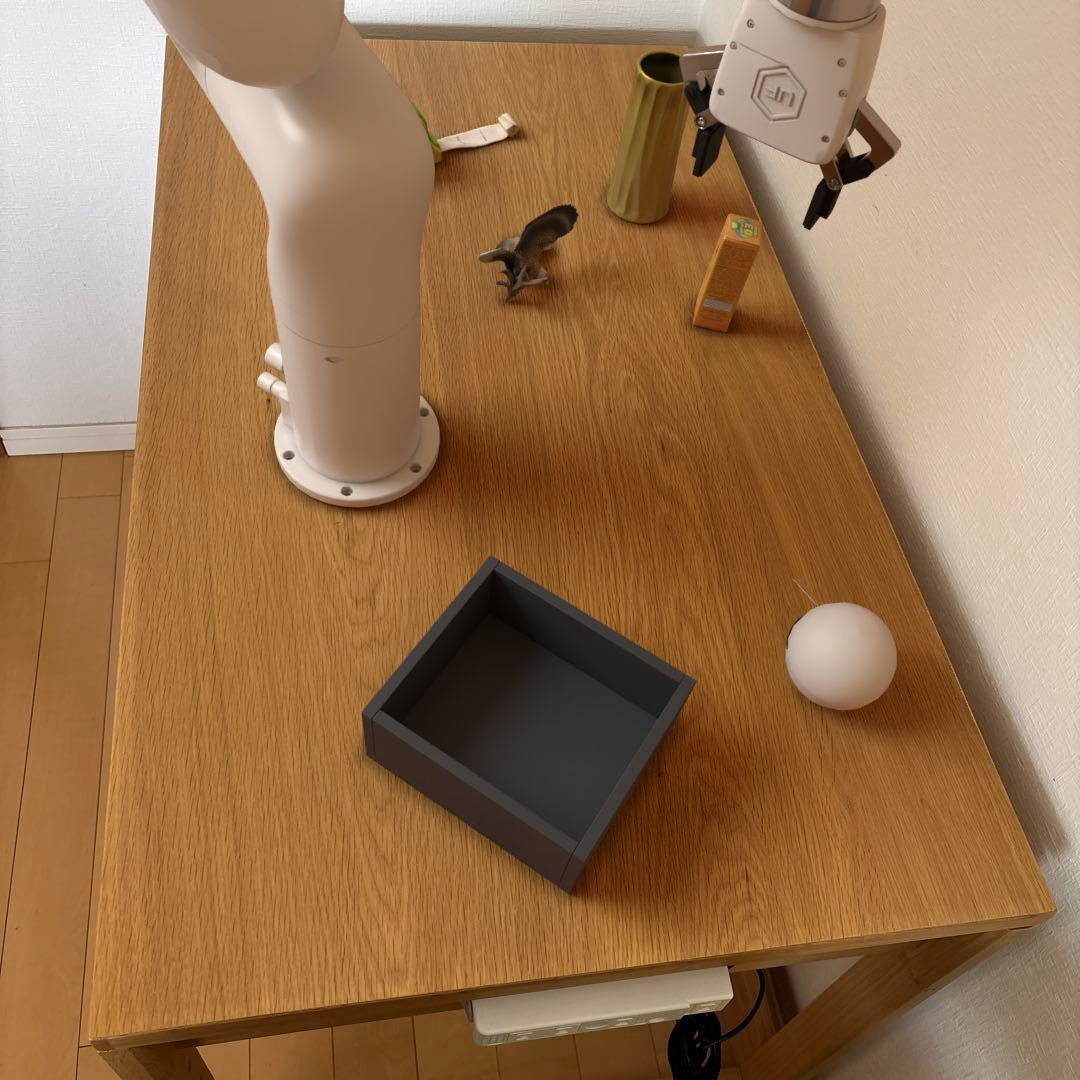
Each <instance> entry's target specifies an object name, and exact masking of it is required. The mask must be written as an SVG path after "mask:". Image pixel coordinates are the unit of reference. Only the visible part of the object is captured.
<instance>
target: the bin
mask: <svg viewBox="0 0 1080 1080" xmlns="http://www.w3.org/2000/svg"><path fill="white" fill-rule="evenodd" d="M697 682H698V681H697V680H696V679H695V678H693V677H692V676H690V675H688V674H686V673H685V672H684V671H682V670H680V669H679V668H677V667H675V666H673V665H671V664H670V663H669V662H668V661H665V660H663V659H662V658H660V657H659V656H657V655H655V654H653V652H651V651H649V650H647V649H645V648H644V647H642V646H641V645H639V644H638V643H636V642H634V641H633V640H631V639H629V638H628V637H626V636H624V635H623V634H621V633H620V632H617V631H616V630H614V629H613V628H611V627H609V626H608V625H606V624H605V623H604V622H601V621H600V620H598V619H596V618H595V617H593V616H592V615H589V614H588V613H587V612H585V611H583V610H581V609H580V608H578V607H576V606H575V605H573V604H572V603H570V602H568V601H566V600H565V599H564V598H562V597H561V596H559V595H557V594H555V593H553V592H552V591H550V590H548V589H547V588H545V587H544V586H542V584H541V585H540V584H539V583H537V582H535V581H534V580H532V579H531V578H529V577H527V576H526V575H524V574H523V573H521V572H519V571H518V570H516V569H514V568H513V567H511V566H509V565H507V564H506V563H504V562H503V561H501V560H500V559H499V558H496V557H495V556H493V555H492V554H491V555H489V556H488V557H487V559H486V560H485V561H484V562H483V563H482V565H481V566H480V567H479V568H478V569H477V571H476V572H475V573H474V575H472V577H471V578H470V579H469V580H468V582H467V583H466V584H465V585H464V586H463V588H462V589H461V590H460V591H459V593H458V594H457V595H456V596H455V598H453V600H452V601H451V602H450V603H449V604H448V606H447V607H446V608H445V610H444V611H443V612H442V613H441V615H440V616H439V617H438V618H437V619H436V620H435V622H434V623H433V624H432V625H431V626H430V627H429V629H428V630H427V632H426V633H425V634H424V635H423V636H422V637H421V638H420V640H419V641H418V642H417V644H416V645H415V646H414V647H413V648H412V650H410V652H409V653H408V655H406V657H405V658H404V659H403V660H402V662H401V663H400V664H399V665H398V666H397V668H396V669H394V671H393V672H392V674H391V675H390V676H389V677H388V678H387V680H386V681H385V682H384V684H383V685H382V686H381V687H380V688H379V689H378V691H377V692H376V693H375V695H374V696H373V697H372V698H371V700H370V701H369V702H368V703H367V704H366V705H365V707H363V709H362V710H361V712H360V714H361V721H362V729H363V730H362V731H363V739H364V747H365V756H366V757H368V758H370V759H371V760H372V761H374V762H375V763H377V764H378V765H379V766H381V767H383V768H384V769H385V770H387V771H389V772H390V773H391V774H393V775H395V777H397V778H398V779H400V780H401V781H403V782H405V783H406V784H408V785H409V786H410V787H412V789H415V790H416V791H417V792H419V793H421V794H422V795H423V796H425V797H426V798H427V799H429V800H431V801H432V802H433V803H435V804H437V805H438V806H439V807H441V808H443V810H445V811H447V812H448V813H450V814H451V815H453V816H454V817H455V818H457V819H458V820H460V821H461V822H463V823H464V824H465V825H467V826H468V827H470V828H472V829H473V830H475V831H476V832H477V833H478V834H480V835H481V836H483V837H485V838H486V839H488V840H489V841H490V842H492V843H493V844H495V845H497V846H498V847H499V848H501V849H502V850H504V851H505V852H507V853H508V854H510V855H511V856H512V857H514V858H515V859H516V860H518V861H519V862H521V863H523V864H524V865H526V866H527V867H528V868H529V869H531V870H533V871H534V872H536V873H537V874H539V875H540V876H541V877H543V878H545V879H546V880H547V881H549V882H550V883H552V884H554V885H555V886H556V887H558V888H559V889H560V890H562V891H563V892H565V893H566V894H571V892H572V891H573V889H574V887H575V885H576V884H577V882H578V881H579V879H580V877H581V876H582V875H583V872H584V871H585V869H586V868H587V866H588V864H589V863H590V861H591V860H592V858H593V856H594V855H595V853H596V851H597V850H598V848H599V847H600V846H601V843H602V842H603V840H604V839H605V837H606V835H607V834H608V832H609V830H610V829H611V827H612V826H613V824H614V822H615V821H616V819H617V818H618V816H619V815H620V813H621V811H622V810H623V808H624V806H625V805H626V803H627V801H628V800H629V798H630V797H631V796H632V793H633V791H634V790H635V788H636V787H637V785H638V783H639V782H640V780H641V779H642V777H643V776H644V774H645V772H646V770H647V769H648V767H649V766H650V764H651V762H652V761H653V759H654V758H655V756H656V754H657V753H658V751H659V749H660V747H661V746H662V745H663V743H664V742H665V740H666V739H667V736H668V735H669V733H670V732H671V730H672V729H673V727H674V726H675V723H676V721H677V719H678V718H679V716H680V714H681V712H682V710H683V708H684V707H685V704H686V703H687V701H688V699H689V697H690V696H691V693H692V692H693V690H694V688H695V686H696V685H697Z"/></svg>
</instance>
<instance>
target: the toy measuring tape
mask: <svg viewBox="0 0 1080 1080" xmlns="http://www.w3.org/2000/svg"><path fill="white" fill-rule="evenodd" d="M407 98H408V99H409V101H410V102H411V104H412V106H413V107H414V109H415V111H416V112H417V114H418V116H419V118H420V120H421V122H422V124H423V126H424V128H425V131H426V133H427V136H428V138H429V141H430V144H431V148H432V152H433V157H434V164H437V163H440V162H441V161H442V158H443V153H444V152H447V151H449V150H450V151H451V150H455V149H465V148H474V149H476V148H477V147H478V148H479V147H483V146H488V145H491V144H494V143H496V142H500V141H503V140H506V139H507V138H508V136H509V137H510V138H513V137H514V136H515V135H517V133H518V132H519V128H520V127H519V125H518V124H517V123H516V121H515V120H514V119H513V117H512V116H511V114H510V113H508V112H505V113H502V114H501V115H500V116H499V117H498V118H497V121H498V122H497V123H493V124H489V125H485V126H481V127H477V128H473V129H471V130H467V131H465V132H460V133H456V134H452V135H448V136H445V137H441V138H438V139H436V138H435V137H434V136H433V134H432V132H431V131H430V130H429V127H428V123H427V119H426V118H425V117H424V115H423V114H422V112H421V111H420V110H419V109H418V107H417V106H416V104H415V103H414V102H413V101H412V100H411V99H410V98H409V97H408V96H407Z"/></svg>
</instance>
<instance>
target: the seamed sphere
mask: <svg viewBox="0 0 1080 1080" xmlns="http://www.w3.org/2000/svg"><path fill="white" fill-rule="evenodd" d="M791 580H793V581H794V582H795V584H796V585H797V586H798V587H799V588H800V590H802V591H803V593H805V594H806V596H807V597H808V598H809V599H810V600H811V601H812V603H813V604H814V605H815V606H816V605H817V603H816V602H815V601H814V600H813V599H812V597H811V596H809V594H808V593H807V592H806V591H805V590H804V589H803V587H802V586H801V585H800V584H799V583H798V582H797V580H795V579H794V578H791ZM785 644H786V645H785V654H784V657H785V658H784V660H785V661H784V662H785V666H786V668H787V671H788V675H789V677H790V680H791V681H792V683H793V684H794V685H795V687H796V689H797V690H798V691H799V692H800V693H801V694H802V695H803V696H804V697H805V698H806V699H807V700H808V701H810V702H812V703H814V704H817V705H818V706H820V707H823V708H826V709H832V710H837V711H851V710H852V711H853V710H858V709H860V708H862V707H865V706H867V705H868V704H871V703H873V702H875V701H876V700H878V699H880V697H881V696H882V695H883V694H884V693H885V692H886V691H887V690H888V688H889V687H890V685H891V683H892V681H893V679H894V675H895V673H896V669H897V667H898V654H897V652H898V651H897V646H896V642H895V640H894V637H893V635H892V631H891V630H890V629H889V627H888V626H887V625H886V623H885V622H884V621H883V619H882V618H880V617H879V616H878V615H876V613H874V612H873V611H872V610H870V609H867V608H865V607H864V606H861V605H859V604H856V603H851V602H846V601H845V602H832V603H823V604H821V605H818V606H816V607H814V608H811V609H810V610H808V611H807V612H806V613H805V614H803V615H802V616H800V617H798V619H797V620H796V621H795V622H794V623H793V625H792V626H791V628H790V630H789V631H788V635H787V638H786V643H785Z"/></svg>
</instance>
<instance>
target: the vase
mask: <svg viewBox="0 0 1080 1080" xmlns="http://www.w3.org/2000/svg"><path fill="white" fill-rule="evenodd" d="M683 54H684V53H681V52H678V51H675V50H670V49H659V48H658V49H652V50H648V51H646V52H644V53H642V54H641V55H640V56H639V57H638V59H637V61H636V64H635V69H634V75H633V79H632V80H633V81H632V84H631V89H630V95H629V100H628V104H627V108H626V113H625V117H624V121H623V122H624V123H623V127H622V132H621V135H620V141H619V145H618V149H617V154H616V158H615V163H614V166H613V170H612V173H611V178H610V183H609V187H608V190H607V192H606V196H605V197H606V198H605V199H606V204H607V206H608V208H609V209H610V210H611V212H612V213H613V214H614V215H615V216H617V217H619V218H620V219H622V220H624V221H627V222H630V223H634V224H641V225H642V224H652V223H655V222H657V221H659V220H661V219H663V218H664V217H665V216H666V215H667V214H668V211H669V209H670V203H671V194H672V189H673V185H674V180H675V174H676V170H677V165H678V163H677V162H678V159H679V154H680V153H679V152H680V149H681V144H682V139H683V135H684V131H685V127H686V124H687V120H688V116H689V112H690V109H691V106H690V104H689V102H688V100H687V98H686V96H685V94H684V89H685V82H683V78H682V74H681V69H680V65H679V58H680V57H681V56H682V55H683Z"/></svg>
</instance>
